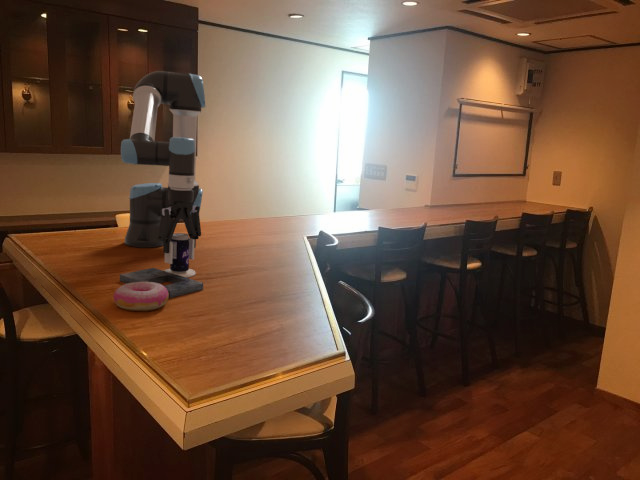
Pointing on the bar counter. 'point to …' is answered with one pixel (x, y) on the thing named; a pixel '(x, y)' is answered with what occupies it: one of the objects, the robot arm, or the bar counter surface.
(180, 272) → the beverage can
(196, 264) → the bar counter surface
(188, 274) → the coaster
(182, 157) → the robot arm
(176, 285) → the grey board with hole
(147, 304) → the donut
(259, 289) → the bar counter surface
